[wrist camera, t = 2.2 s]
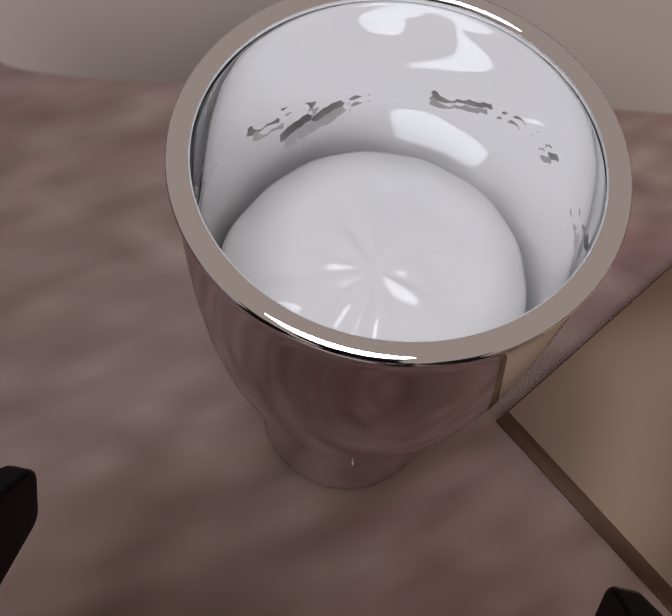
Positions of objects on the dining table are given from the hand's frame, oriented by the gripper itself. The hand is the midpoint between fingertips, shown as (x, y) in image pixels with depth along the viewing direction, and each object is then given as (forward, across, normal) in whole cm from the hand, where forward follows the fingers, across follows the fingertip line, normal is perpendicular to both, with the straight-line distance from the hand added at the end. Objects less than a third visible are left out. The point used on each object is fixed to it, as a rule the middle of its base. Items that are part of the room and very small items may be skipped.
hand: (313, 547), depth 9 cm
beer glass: (+12, 0, +5) cm, 13 cm away
